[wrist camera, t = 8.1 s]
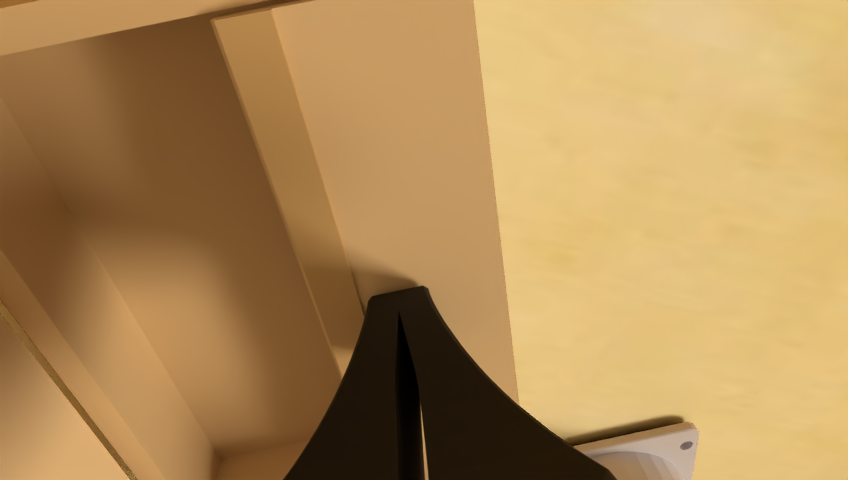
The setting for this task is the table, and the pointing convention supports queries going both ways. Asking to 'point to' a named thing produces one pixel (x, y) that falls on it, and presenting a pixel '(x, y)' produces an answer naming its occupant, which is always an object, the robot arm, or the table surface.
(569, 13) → the table surface
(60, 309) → the carton
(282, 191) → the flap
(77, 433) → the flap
